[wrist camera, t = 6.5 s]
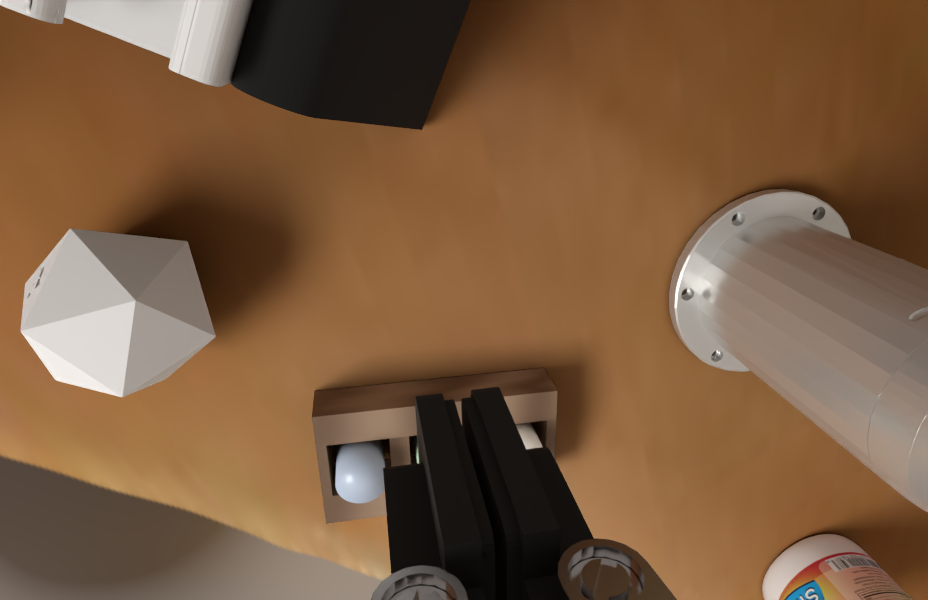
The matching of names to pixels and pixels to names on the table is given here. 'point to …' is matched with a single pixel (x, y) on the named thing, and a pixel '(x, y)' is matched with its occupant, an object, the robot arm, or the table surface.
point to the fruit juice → (828, 573)
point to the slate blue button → (360, 471)
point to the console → (414, 422)
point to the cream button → (528, 435)
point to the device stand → (290, 48)
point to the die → (115, 310)
